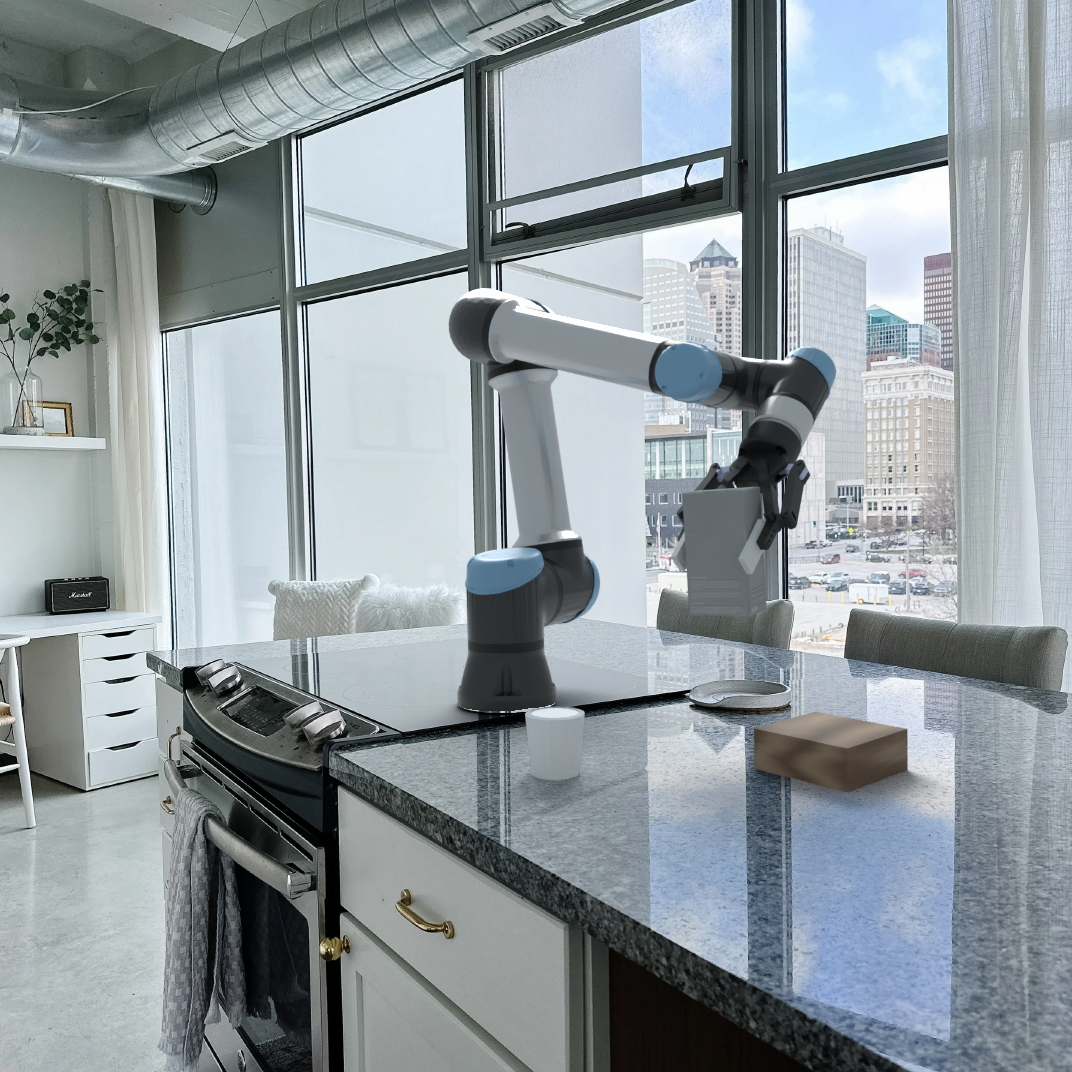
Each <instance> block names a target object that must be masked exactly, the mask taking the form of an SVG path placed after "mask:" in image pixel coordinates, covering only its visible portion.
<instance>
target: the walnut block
mask: <svg viewBox="0 0 1072 1072" xmlns="http://www.w3.org/2000/svg"><path fill="white" fill-rule="evenodd" d="M908 746H909V745H908V728H905V727H899V726H894V725H889V724H884V723H878V722H873V721H867V720H861V719H857V718H851V717H848V716H847V717H846V716H842V715H835V714H830V713H825V712H819V711H813V712H810V713H805V714H802V715H798V716H795V717H790V718H787V719H784V720H780V721H776V722H773V723H768V724H765V725H762V726H758V727H754V728H753V752H754V753H753V756H754V757H753V759H754V762H753V763H754V764H753V765H754V766H753V767H754V769H755V770H756V771H757V770H759V771H762V772H765V773H770V774H773V775H774V774H775V775H778V776H782V777H785V778H789V779H793V780H796V781H801V782H804V783H809V784H812V785H817V786H820V787H823V788H829V789H832V790H836V791H840V792H843V793H847V794H849V793H850V792H853V791H856V790H858V789H862V788H864V787H866V786H869V785H871V784H874V783H878V782H879V781H880V782H881V781H882V780H884V779H888V778H890V777H893V776H895V775H898V774H901V773H903V772H906V771H908V770H909V768H908V767H909V766H908V764H909V762H908V761H909V760H908V759H909V758H908V757H909V755H908V749H909V748H908Z"/></svg>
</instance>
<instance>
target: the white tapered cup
mask: <svg viewBox="0 0 1072 1072" xmlns="http://www.w3.org/2000/svg"><path fill="white" fill-rule="evenodd" d="M524 714H525V715H524V716H525V726H526V734H527V735H526V736H527V744H528V752H529V761H530V768H531V769H530V771H531V776H533V777H534V778H536V779H539V780H546V781H565V779H566V780H571V779H574V778H577V777H579V776H580V775H581V770H582V759H583V757H582V756H583V742H584V730H585V729H584V728H585V727H584V726H585V718H586V717H585V711H584V710H582V709H579V708H576V707H569V706H552V707H544V708H537V709H532V710H529V711H527V712H526V713H524ZM579 774H580V775H579ZM573 777H574V778H573ZM570 778H571V779H570Z"/></svg>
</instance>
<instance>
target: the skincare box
mask: <svg viewBox="0 0 1072 1072" xmlns="http://www.w3.org/2000/svg"><path fill="white" fill-rule="evenodd" d="M681 497H682V505H683V516H684V525H683V526H684V531H685V550H686V567H687V568H686V580H687V581H686V583H687V601H688V602H687V603H688V614H689V615H691V616H715V617H716V616H717V617H718V616H720V617H723V616H725V617H753V616H754V615H756V614H759V613H764V612H766V609H767V607H768V606H767V585H766V571H765V570H766V569H765V553H764V551H765V550H764V551H763V553H762V555H761V557H760V559H759V561H758V563H757V565H756V567H755V570H754V572H753V574H746V572H745V570H744V569H743V567H742V565H741V564H740V562H739V560H738V558H739V556H740V554H741V552H742V550H743V548H744V546H745V544H746V542H747V540H748V538H749V536H750V534H751V532H752V530H753V528H754V526H755V524H756V522H757V520H758V519H763V518H762V517H763V516H762V515H763V514H762V502H761V501H762V500H761V493H760V487H744V488H737V487H735V488H728V489H714V490H699V491H694V490H693V491H686V492H682V493H681Z"/></svg>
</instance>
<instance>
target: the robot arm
mask: <svg viewBox="0 0 1072 1072" xmlns="http://www.w3.org/2000/svg"><path fill="white" fill-rule="evenodd" d="M448 332H449V337H450V339H451V342H452V344H453V346H454V347H455V349H456V350H457V351H458V352H459V353H460V354H461V355H462V356H463V357H465V358H466V359H467V360H470V361H472V362H475V363H477V364H483V365H485V366H486V367H485V368H486V373H487V379H488V380H487V382H488V386H490V387H491V389H493V390H495V391H497V393H498V394H499V400H500V408H501V413H502V414H501V415H502V422H503V428H504V436H505V442H506V450H507V458H508V464H509V471H510V478H511V485H512V493H513V499H514V501H513V502H514V507H515V514H516V521H517V527H518V528H517V529H518V534H519V536H518V538H517V539H516V540H515V542H514V543H513V545H512V546H511V547H505V548H500V549H492V550H488V551H483V552H480V553H477V554H475V555H473V556H472V557H471V558H470V559H469V560H468V561H467V565H466V578H465V581H464V586H465V588H466V589H465V590H466V618H467V621H466V623H467V624H466V625H467V626H466V627H467V657H466V662H465V666H464V669H463V674H462V678H461V682H460V684H459V686H458V688H457V692H456V693H457V696H456V697H457V706H458V705H459V706H461V707H463V708H466V709H472V710H480V711H515V710H522V709H528V708H539V707H545V706H548V705H552V704H554V703H555V702H556V701H558V698H557V697H558V695H557V694H558V692H557V691H558V690H557V686H556V684H555V682H553V679H552V675H551V674H552V673H551V670H550V666H549V663H548V660H547V656H546V654H545V628H546V627H550V626H555V625H562V624H568V623H571V622H572V621H575V620H576V619H579V618H581V617H583V616H584V615H586V614H587V613H588V612H589V611H590V610H591V609H593V608H592V607H593V606H594V605H595V603H596V602H597V599H598V597H599V594H600V590H601V589H600V588H601V578H600V573H599V568H598V567H597V565H596V563H595V562H594V561H593V559H591V558H590V557H589V555H587V554H586V553H584V552H585V551H584V546H583V545H584V544H583V539H582V536H581V535H579V534H578V533H577V532H575V531H574V530H573V528H572V527H571V526H572V525H571V521H570V520H571V519H570V513H569V512H570V511H569V508H568V507H569V506H568V499H567V491H566V484H565V480H564V479H565V478H564V471H563V463H562V457H561V450H560V443H559V437H558V429H557V422H556V415H555V414H556V413H555V407H554V400H553V394H552V384H553V383H554V381H555V380H556V379H557V378H558V376H559V371H560V372H567V373H570V374H573V375H578V376H583V377H587V378H590V379H595V380H598V381H603V382H605V383H611V384H615V385H620V386H623V387H627V388H631V389H636V390H639V391H643V392H648V393H652V394H656V395H659V396H663V397H666V398H671V399H672V400H674V401H677V402H682V403H686V404H695V405H697V406H702V407H703V406H704V407H706V408H713V409H717V410H718V409H723V410H725V409H726V410H731V411H732V410H734V411H743V412H754V413H756V414H755V415H754V417H753V419H752V420H751V423H750V426H749V427H748V428H747V431H746V433H745V434H744V436H743V438H742V440H741V442H740V444H739V448H738V453H737V454H738V455H737V457H736V458H735V460H733V461H732V462H731V463H730V465H727V466H720V464H719V463H718V462H714V463H712V464H711V465H710V466H709V469H708V472H707V474H706V476H705V477H704V478H703V479H702V481H700V483H699V484H698V485H697V487H696V488H695V489H694V490H693V491H699V490H714V489H728V488H744V487H760V494H762V503H763V513H762V515H763V517H764V519H765V520H764V519H763V518H762V519H758V520H757V522H756V524H755V526H754V528H753V530H752V532H751V534H750V536H749V538H748V540H747V542H746V544H745V546H744V548H743V550H742V552H741V554H740V556H739V558H738V560H739V562H740V564H741V565H742V567H743V569H744V570H745V572H746V574H753V572H754V570H755V567H756V565H757V563H758V561H759V559H760V557H761V555H762V553H763V551H768V550H769V549H770V548H771V547H772V544H773V542H774V540H775V539H776V537H777V534H778V533H780V532H781V531H782V530H783V529H786V528H787V529H788V530H794V529H795V528H797V526H798V521H799V515H800V510H801V506H802V498H803V494H804V487H805V485H806V484H807V482H808V480H809V479H810V477H811V473H810V471H809V469H808V466H807V465H806V462H805V461H804V460H803V459H798V458H799V456H800V454H801V451H802V448H803V447H804V445H805V443H806V441H807V439H808V436H809V435H810V432H811V431H812V429H813V427H814V425H815V422H816V420H817V418H818V416H819V414H820V413H821V411H822V409H823V406H824V404H825V402H826V401H827V400H828V399H829V397H830V394H831V390H832V388H833V384H834V382H835V380H836V376H837V375H836V374H837V368H836V365H835V363H834V361H833V359H832V357H831V356H830V355H828V353H826V352H824V351H823V350H822V349H819V348H818V347H817V348H816V347H812V346H801V347H797V348H794V349H793V350H790V352H789V353H788V354H787V355H786V357H785V358H784V359H783V360H779V359H759V358H752V357H744V356H743V357H742V356H736V355H732V354H731V353H726V352H722V351H719V350H714V349H712V348H709V347H707V345H703V344H700V343H697V342H692V341H691V342H690V341H686V342H683V341H681V340H680V341H679V340H673V339H669V338H665V337H661V336H655V335H651V334H648V333H642V332H637V331H633V330H628V329H622V328H618V327H614V326H609V325H603V324H599V323H595V322H591V321H586V320H581V319H577V318H571V317H567V316H561V315H557V314H556V313H555V312H554V311H553V310H552V309H551V308H549V307H548V306H546V305H544V304H542V303H541V302H539V301H537V300H534V299H531V298H524V297H518V296H516V295H513V294H509V293H505V292H502V291H500V290H497V289H493V288H477V289H474V290H471V291H468V292H467V293H465V294H464V295H462V296H461V297H460V298H459V299H458V300H457V301H456V303H454V305H453V307H452V309H451V311H450V315H449V318H448ZM786 478H787V479H786ZM785 479H786V482H785V488H784V494H783V499H782V502H781V507H779V500H778V497H779V492H778V484H779V483H781V482H782V481H783V480H785ZM676 516H677V517H678V519H679V521H680V522H681V523H682V526H683V527H682V528H681V530H680V532H679V534H678V536H677V542H678V543H676V544H677V545H676V546H675V548H674V550H673V552H672V554H671V556H670V557H671V559H672V561H673V562H674V564H675V565H676V567H677V569H678V570H679V571H680V572H685V571H686V570H687V567H686V550H685V531H684V516H683V504H682V505H681V507H679V509H678V510H677V511H676ZM459 706H458V707H459Z"/></svg>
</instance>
